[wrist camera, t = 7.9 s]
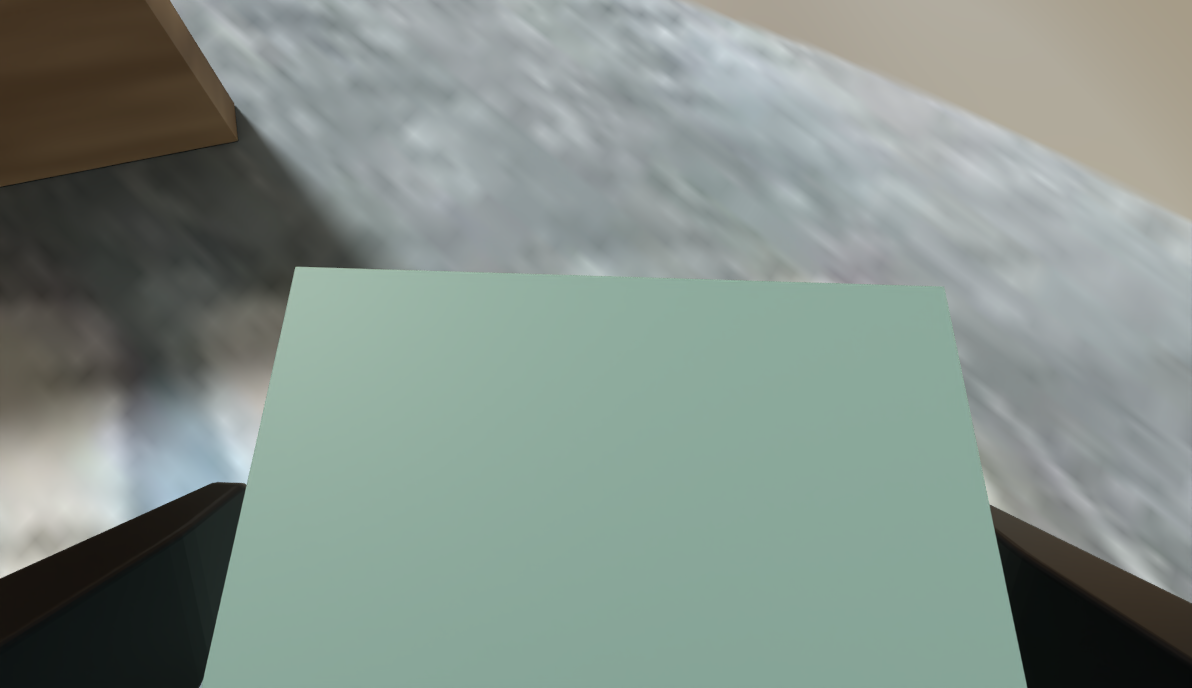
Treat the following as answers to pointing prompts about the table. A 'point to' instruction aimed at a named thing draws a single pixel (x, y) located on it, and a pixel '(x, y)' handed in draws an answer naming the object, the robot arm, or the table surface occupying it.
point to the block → (613, 490)
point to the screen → (102, 87)
